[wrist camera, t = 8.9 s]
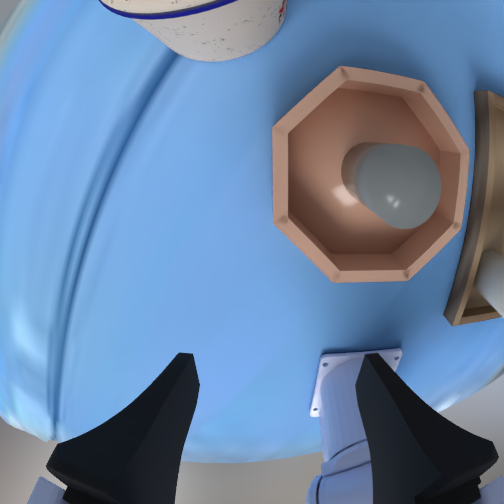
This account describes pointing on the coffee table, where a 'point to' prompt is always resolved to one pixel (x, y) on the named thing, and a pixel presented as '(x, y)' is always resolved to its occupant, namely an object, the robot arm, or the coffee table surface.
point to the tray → (481, 212)
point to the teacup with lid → (206, 24)
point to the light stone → (491, 279)
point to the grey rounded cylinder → (393, 182)
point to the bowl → (331, 185)
